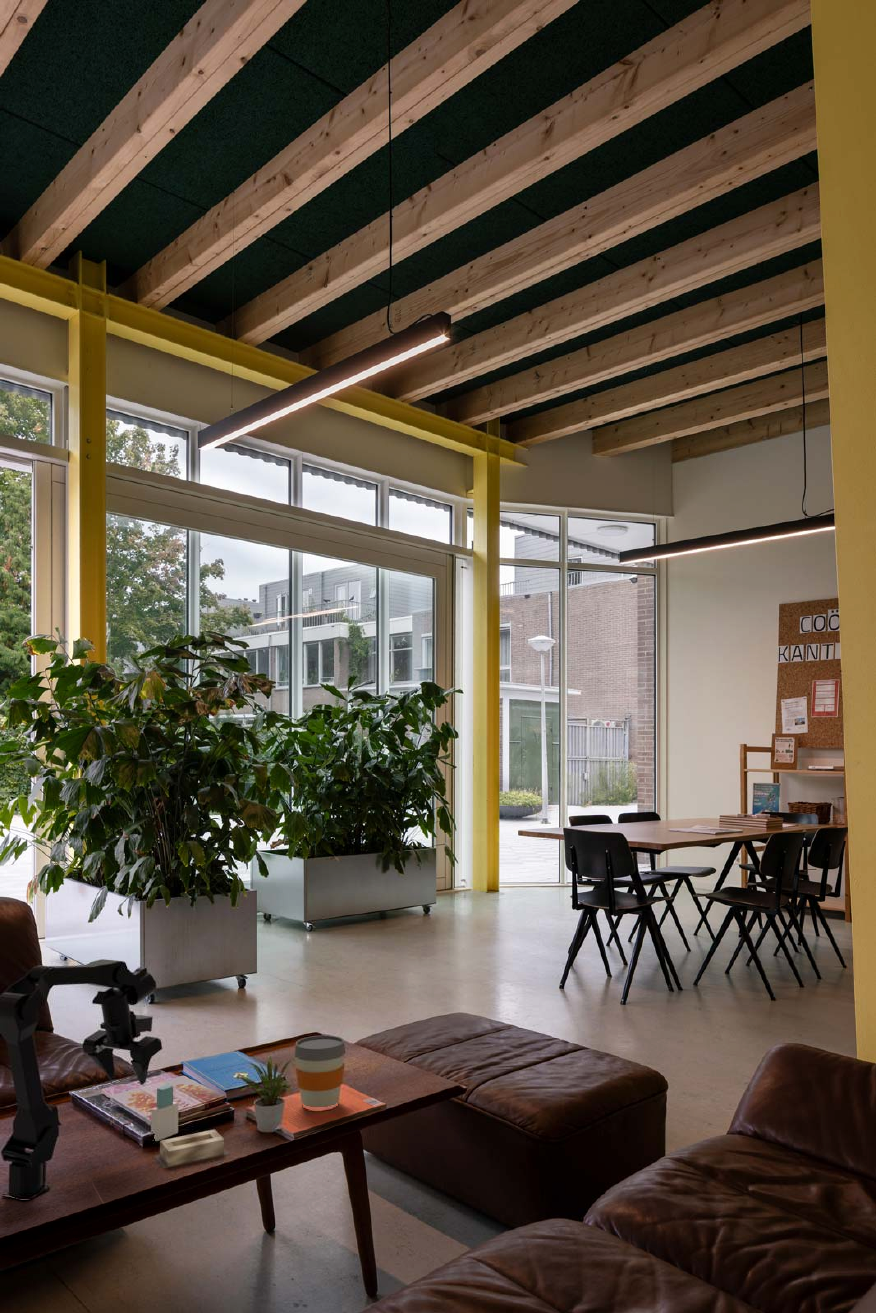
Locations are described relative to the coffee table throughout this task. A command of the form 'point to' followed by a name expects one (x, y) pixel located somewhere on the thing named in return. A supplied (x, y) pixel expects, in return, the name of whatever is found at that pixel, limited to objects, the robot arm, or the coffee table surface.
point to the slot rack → (191, 1147)
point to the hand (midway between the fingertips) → (127, 1080)
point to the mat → (186, 1162)
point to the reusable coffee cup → (320, 1069)
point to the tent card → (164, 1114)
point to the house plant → (268, 1096)
